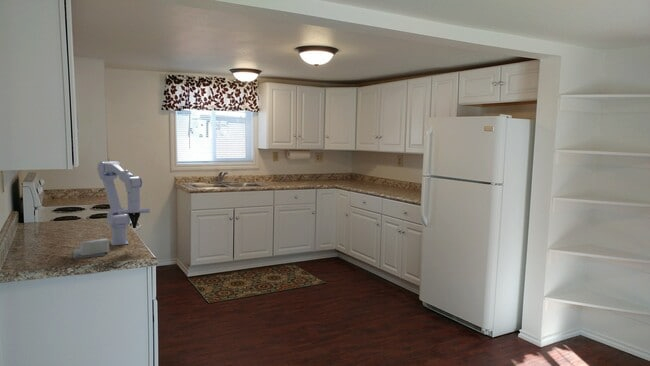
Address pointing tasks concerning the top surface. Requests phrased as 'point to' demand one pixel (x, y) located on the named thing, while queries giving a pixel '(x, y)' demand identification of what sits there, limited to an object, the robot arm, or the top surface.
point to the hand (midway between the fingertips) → (134, 227)
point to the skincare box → (94, 247)
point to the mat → (78, 255)
